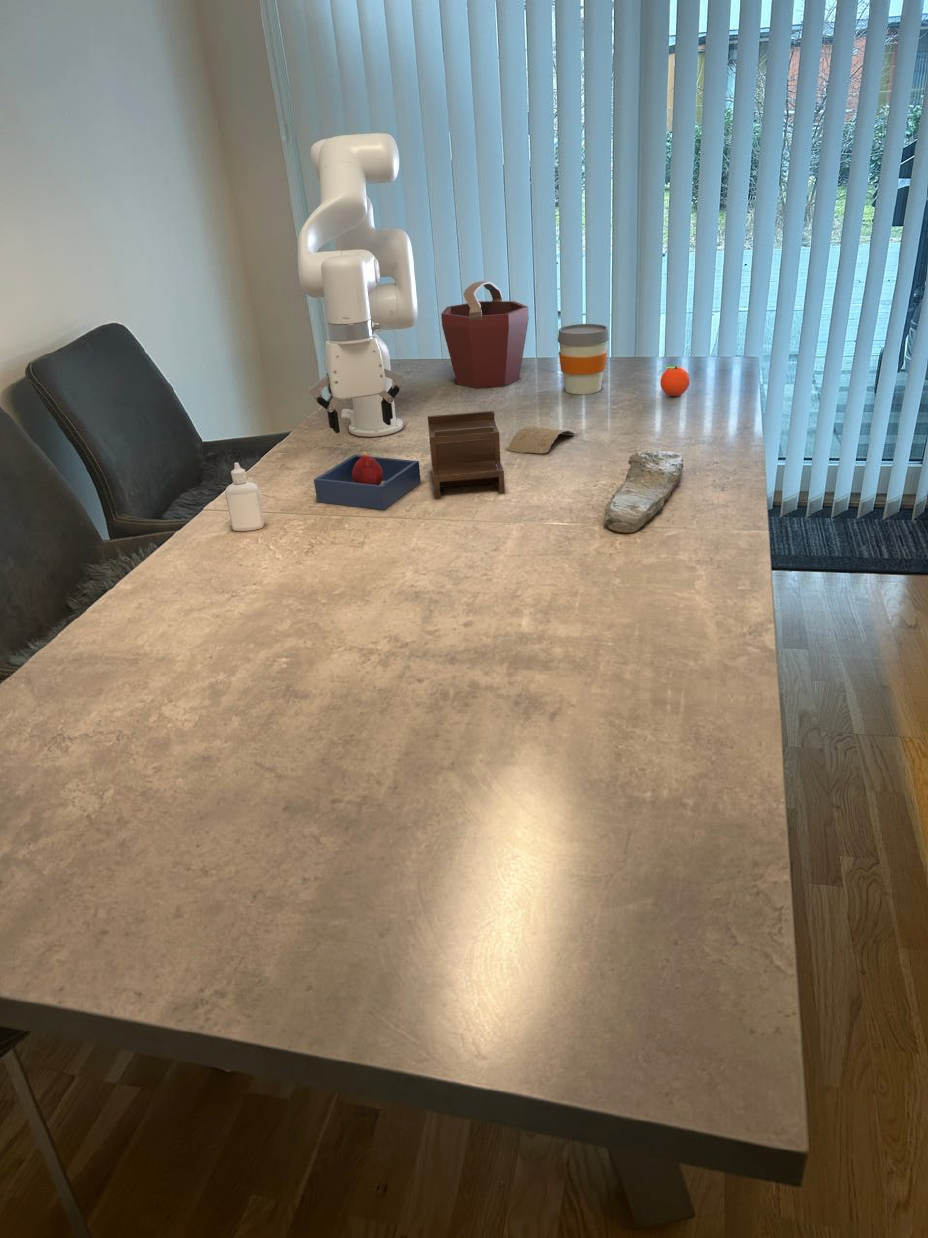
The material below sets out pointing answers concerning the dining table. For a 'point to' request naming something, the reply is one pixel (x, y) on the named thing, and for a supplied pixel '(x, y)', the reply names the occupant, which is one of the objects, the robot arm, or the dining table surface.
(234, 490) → the eye dropper bottle
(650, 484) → the elongated rock
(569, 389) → the reusable coffee cup
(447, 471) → the step shelf
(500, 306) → the bucket
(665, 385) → the clementine
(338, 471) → the crate
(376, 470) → the onion
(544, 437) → the clay tablet
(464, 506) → the dining table surface
